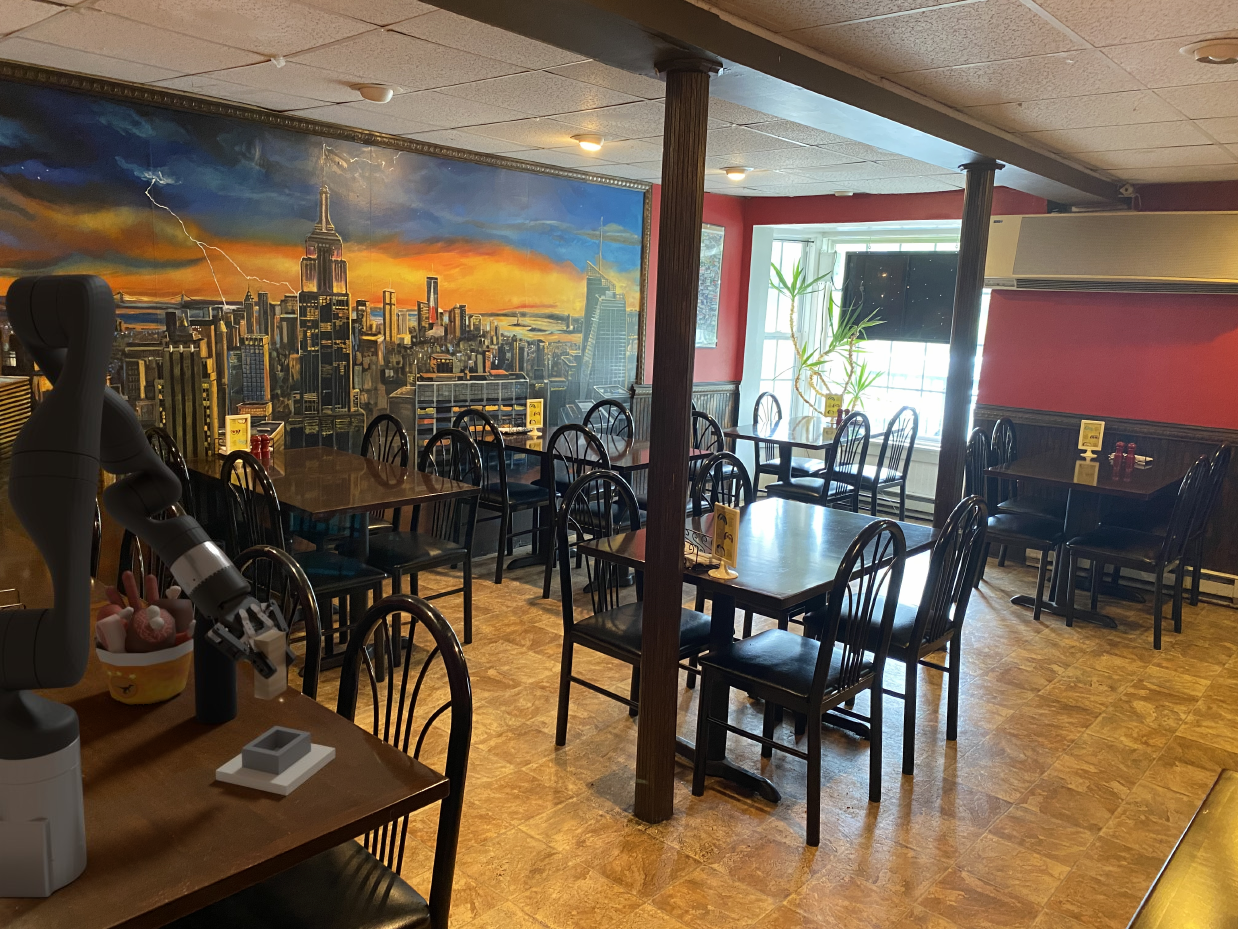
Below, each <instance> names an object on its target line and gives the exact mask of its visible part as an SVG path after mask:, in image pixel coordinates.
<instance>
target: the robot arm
mask: <svg viewBox="0 0 1238 929" xmlns="http://www.w3.org/2000/svg"><path fill="white" fill-rule="evenodd" d="M4 300H5V302H4V305H5V312H6V317H7V320H8V323H9V325H10V327H11V329H12V332H13V333H14V335H15V337H16V338H17V340H18V341H19V343H20V344H21V346H22V347H23V349H24V350H25V351H26V353H27V355H28V356H29V357H30V358H31V360H32V361H33V363H35V365H36V366H37V367H38V369H39V370H40V372H41V373H42V375H43V376H44V378H46V379H45V380H47V381H48V383H49V384H50V385H51V387H52V388H51V389H50V391H49V392H48V393H47V395H45V397H44V398H43V400H42V401H41V402H40V403H39V404H38V406H36V408H35V409H34V410H33V411H32V413H31V414H30V415H29V417H28V418H27V419H26V421H25V423H23V425H22V426H21V428H20V430H19V431H18V433H17V434H16V435H15V436H16V437H15V438H14V440H13V444H12V447H11V454H10V464H9V473H8V484H7V498H8V501H9V504H10V506H11V509H12V511H13V513H14V514H15V516H16V518H17V519H18V520H19V523H20V524H21V525H22V527H23V529H24V530H25V532H26V533H27V534H28V537H30V540H32V542H33V543H34V544H35V546H36V548H37V549H38V551H39V552H40V554H41V556H42V558H43V561H44V562H45V564H46V566H47V569H48V571H49V575H50V578H51V582H52V588H53V607H51V608H50V607H49V608H48V607H47V608H21V609H18V608H17V609H1V610H0V898H3V897H4V898H7V897H8V898H47V897H50V896H51V894H53V893H54V892H55V891H57V890H59V889H61V888H63V887H65V886H67V885H69V884H70V883H72V882H73V881H75V880H76V879H77V878H78V877H80V876H81V874H82V873H83V872H84V871H85V869H86V868H87V862H88V861H87V860H88V859H87V846H86V844H87V843H86V828H85V809H84V794H83V792H84V791H83V777H82V775H83V774H82V773H83V772H82V759H81V757H82V754H81V753H82V752H81V739H80V720H79V715H78V713H77V712H76V710H75V709H74V708H73V707H71V706H70V705H67V704H64V703H62V702H59V701H54V700H51V699H48V698H45V697H43V696H40V695H38V694H36V693H35V692H33V690H35V691H36V690H51V689H65V688H72V687H74V686H77V685H78V684H79V683H81V680H82V679H83V678H84V675H85V674H86V673H85V672H86V670H87V667H88V661H89V656H90V647H91V646H90V645H91V557H92V544H93V531H94V523H95V522H94V520H95V512H96V503H97V494H98V486H99V472H100V468H101V469H102V470H103V471H104V472H106V473H107V474H110V475H114V476H123V475H124V477H122V478H120V479H118V480H116V481H114V482H113V483H110V484H109V485H108V486H106V487H105V489H104V490H103V492H102V495H101V500H102V506H103V509H104V510H105V512H106V513H107V515H109V517H110V518H111V519H113V520H114V521H115V522H116V523H118V524H119V525H120V526H121V527H123V528H125V529H127V530H128V531H129V532H131V533H133V534H134V535H136V537H138V538H140V539H141V540H142V541H143V542H144V543H145V544H147V545H148V546H149V547H150V548H151V549H152V551H154V552H155V553H156V555H157V556H158V557H159V559H161V561H162V562H163V563H164V564H165V565H166V567H167V568H168V570H169V571H170V572H171V574H172V576H173V577H174V579H175V581H176V583H177V584H178V585H179V587H180V588H181V590H183V591H184V593H185V594H186V595H187V596H188V598H189V600H191V602H193V605H195V607H196V608H197V609H198V611H199V610H200V612H201V613H202V614H203V615H204V617H205V618H207V619H213V622H214V625H215V626H214V627H213V628H212V629H211V630H210V631H209V632H208V633H207V634H206V635H205V639H206V640H207V641H208V642H210V643H211V644H212V645H214V646H215V647H216V648H218V649H219V650H220V651H221V652H223V653H224V654H225V655H227V656H228V657H229V658H231V659H232V660H233V661H235V662H236V663H238V662H239V663H240V661H246V662H249V663H250V664H251V665H252V667H253V669H254V668H255V669H256V670H257V672H258V673H259V674H260V675H261V676H262V677H264V678H265V679H269V678H271V677H272V676H273V675H274V674H275V673H276V672H277V668H276V667H275V665H274V664H273V663H272V662H271V660H270V659H268V657H267V656H266V655H265V654H264V652H263V651H261V652H259V651H260V647H259V645H258V644H257V643H256V641H255V640H254V639H255V638H256V637H258V636H260V635H262V634H264V633H266V632H268V631H270V630H274V631H280V632H286V634H287V633H288V632H289V630H290V629H289V627H288V624H287V623H286V620H285V618H284V615H283V614H282V612H281V609H280V607H279V606H278V603H277V601H276V600H274V599H269V601H268V602H263V603H261V602H260V600H257V599H256V598H255V597H253V595H252V594H251V589H252V587H251V584H249V582H248V581H247V579H246V578H245V577H244V576H243V574H242V573H241V572H240V571H239V569H238V568H237V567H236V565H234V563H233V562H232V561H231V559H230V558H229V557H228V556H227V554H226V552H225V553H224V552H223V551H222V550H221V549H220V548H219V547H217V546H216V545H215V544H214V542H212V540H213V539H212V538H210V536H209V534H207V532H206V531H205V530H204V528H203V527H202V526H201V525H200V523H198V521H197V520H196V519H195V518H194V517H193V516H191V515H189V514H183V515H178V516H175V517H172V518H167V519H164V520H163V519H162V520H158V519H153V518H152V517H155V516H156V515H159V514H160V513H161V512H163V511H166V510H167V509H169V508H171V507H172V506H174V505H176V503H178V502H179V501H180V499H181V497H182V493H183V487H182V486H183V485H182V482H181V481H180V478H179V477H178V476H177V475H176V473H174V472H173V470H171V469H170V467H169V466H167V465H166V464H165V462H164V461H163V460H162V459H161V458H160V457H159V455H158V454H157V453H156V452H155V450H154V449H153V447H152V446H151V444H150V442H149V440H148V438H147V436H146V433H145V430H144V428H143V427H142V424H141V421H140V420H139V417H138V415H137V414H136V411H135V410H134V408H133V407H132V406H131V405H130V403H128V401H127V400H126V399H125V398H124V397H123V396H122V395H120V394H119V393H118V392H117V391H116V390H115V389H113V388H112V387H110V386H109V385H108V384H107V380H108V379H107V378H108V373H109V370H110V369H109V367H110V362H111V356H112V351H113V345H114V339H115V335H116V334H115V332H116V327H117V326H116V323H117V322H116V321H117V307H116V301H115V296H114V293H113V289H112V288H111V286H110V284H109V283H108V282H107V281H106V280H105V279H104V278H102V277H101V276H99V275H96V274H89V273H73V274H70V273H69V274H46V275H45V274H44V275H43V274H42V275H30V276H28V275H27V276H22V277H19V278H17V279H15V280H14V281H12V282H11V284H10V285H9V286H8V289H7V291H6V295H5V299H4ZM125 475H126V476H125ZM277 626H278V627H277ZM262 627H263V628H262ZM230 646H233V647H234V648H236V651H234V650H233V649H232V648H231V647H230ZM296 661H297V657H296V655H295V652H294V651H293V650H292V649H291V648H290V646H288V644H287V643H286V669H289V667H291V666H292V665H294V663H296ZM31 690H32V691H31Z"/></svg>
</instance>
